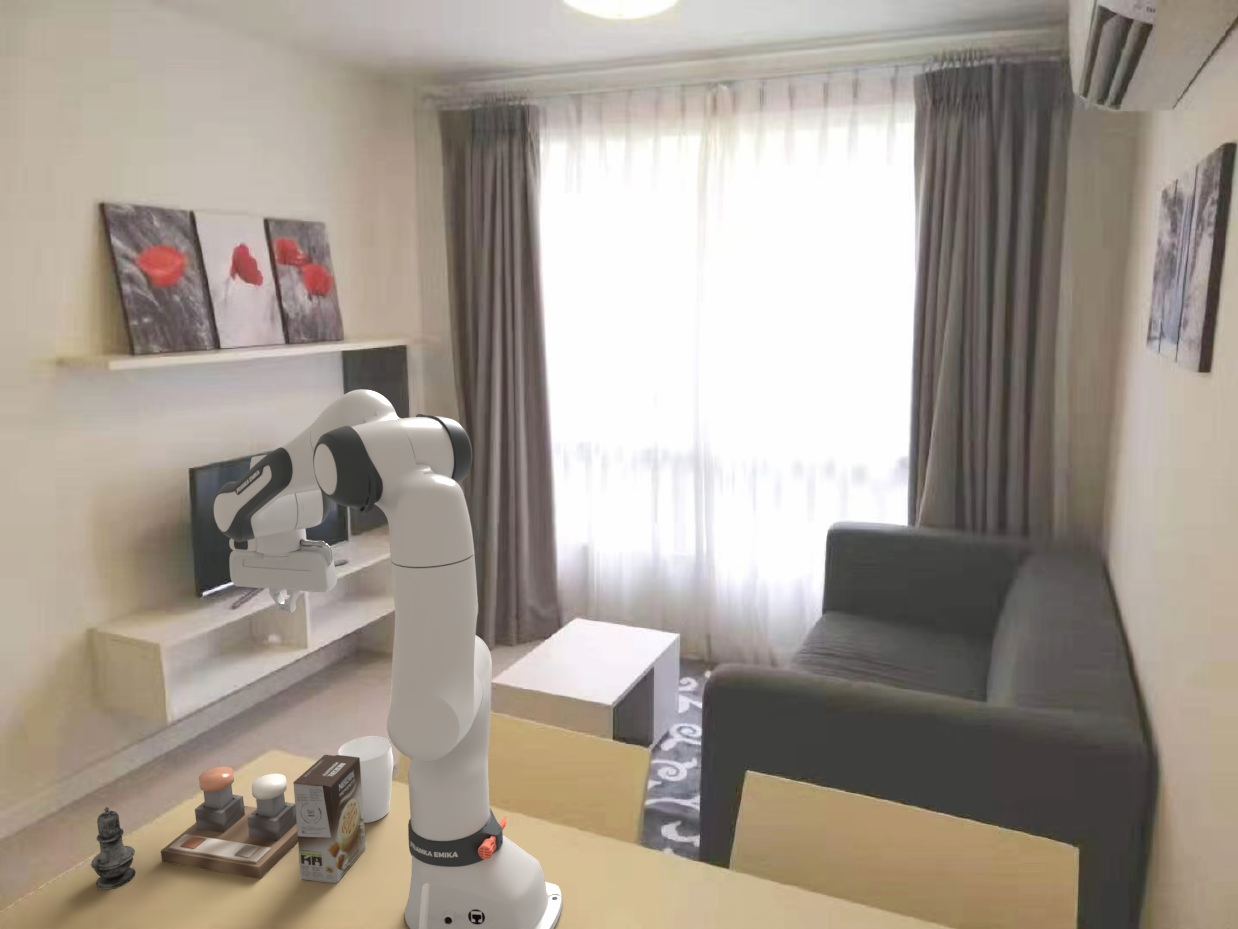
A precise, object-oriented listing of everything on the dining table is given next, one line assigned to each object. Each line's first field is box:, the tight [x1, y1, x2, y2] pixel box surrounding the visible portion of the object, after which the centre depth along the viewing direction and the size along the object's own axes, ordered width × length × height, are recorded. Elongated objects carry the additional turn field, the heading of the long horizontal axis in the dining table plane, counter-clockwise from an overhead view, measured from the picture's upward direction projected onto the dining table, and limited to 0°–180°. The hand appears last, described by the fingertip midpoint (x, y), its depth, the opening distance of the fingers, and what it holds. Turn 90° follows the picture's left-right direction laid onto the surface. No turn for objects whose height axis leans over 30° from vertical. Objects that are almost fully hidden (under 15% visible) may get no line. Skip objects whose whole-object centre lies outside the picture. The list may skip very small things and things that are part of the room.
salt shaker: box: [90, 806, 136, 891], centre depth 134 cm, size 6×6×12 cm
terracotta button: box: [198, 766, 235, 810], centre depth 145 cm, size 5×5×5 cm
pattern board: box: [160, 794, 298, 880], centre depth 143 cm, size 18×14×6 cm
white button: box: [251, 773, 288, 818], centre depth 142 cm, size 5×5×5 cm
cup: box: [337, 735, 394, 824], centre depth 150 cm, size 9×9×12 cm
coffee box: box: [292, 754, 366, 884], centre depth 136 cm, size 9×6×16 cm
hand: (286, 611), depth 161 cm, fingers closed
